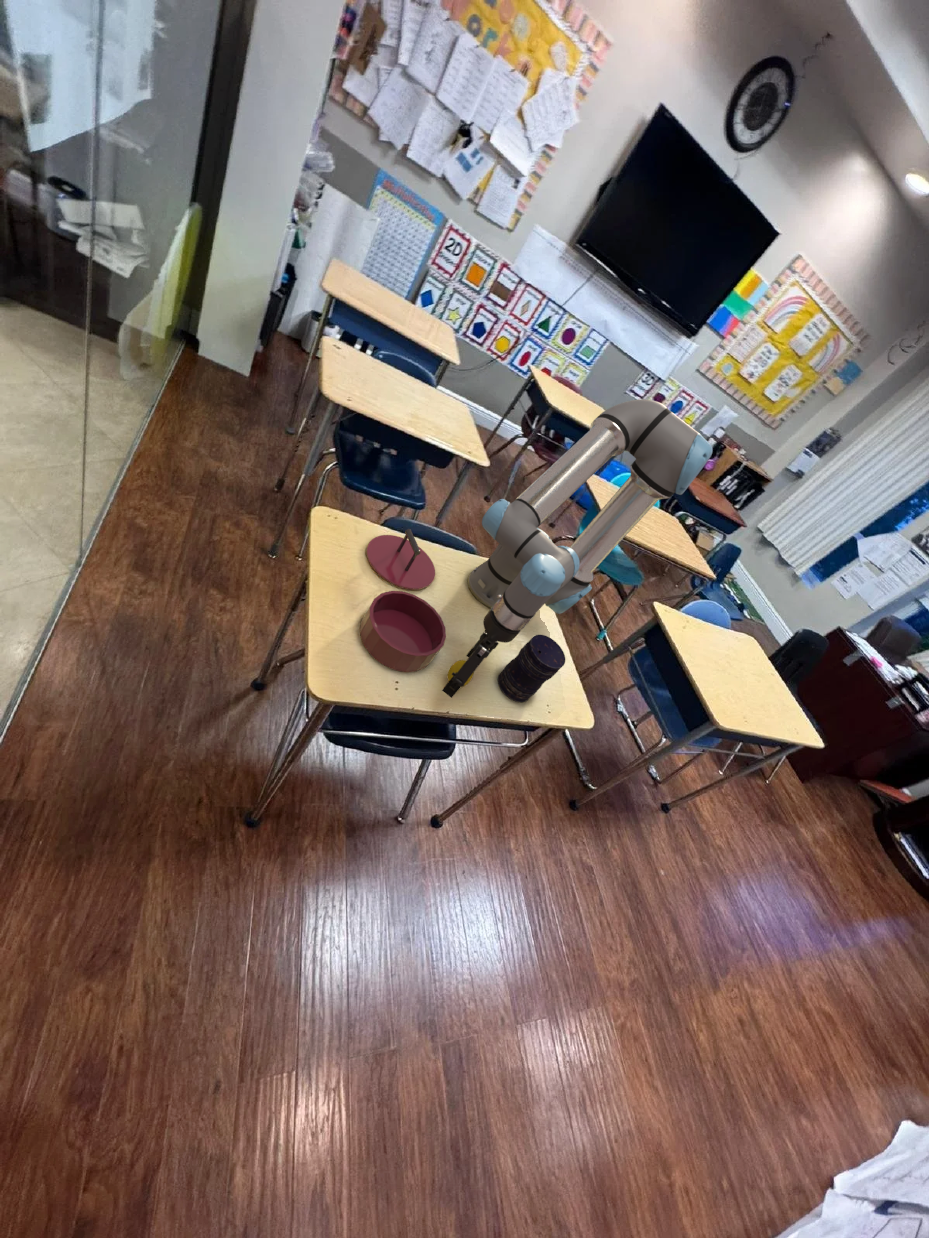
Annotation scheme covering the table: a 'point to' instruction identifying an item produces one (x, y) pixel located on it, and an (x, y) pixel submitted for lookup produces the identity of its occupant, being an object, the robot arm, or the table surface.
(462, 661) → the lemon
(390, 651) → the pot
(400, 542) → the lid
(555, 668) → the storage jar
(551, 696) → the table surface
